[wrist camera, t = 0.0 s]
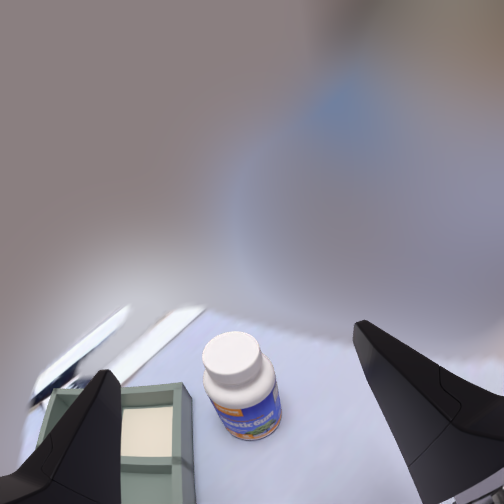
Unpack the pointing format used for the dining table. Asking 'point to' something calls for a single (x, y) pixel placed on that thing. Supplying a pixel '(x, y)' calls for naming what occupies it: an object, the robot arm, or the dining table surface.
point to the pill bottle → (241, 385)
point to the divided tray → (146, 441)
